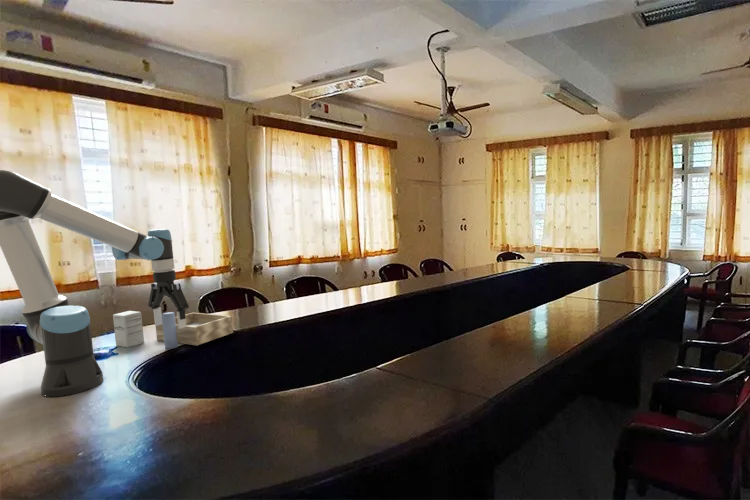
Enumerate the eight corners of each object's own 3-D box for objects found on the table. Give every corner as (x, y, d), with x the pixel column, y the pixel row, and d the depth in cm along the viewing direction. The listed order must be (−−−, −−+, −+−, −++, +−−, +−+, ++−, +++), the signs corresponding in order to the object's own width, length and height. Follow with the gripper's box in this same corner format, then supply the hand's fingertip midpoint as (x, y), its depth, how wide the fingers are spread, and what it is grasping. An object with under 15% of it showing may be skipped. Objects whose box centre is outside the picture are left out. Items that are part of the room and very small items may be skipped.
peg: (170, 349, 161) (166, 315, 160) (162, 348, 163) (159, 314, 162) (180, 346, 164) (177, 312, 163) (172, 345, 167) (169, 311, 165)
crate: (196, 345, 164) (195, 327, 164) (156, 339, 176) (155, 322, 175) (233, 332, 180) (231, 316, 179) (194, 328, 191) (192, 312, 191)
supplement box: (115, 346, 170) (111, 314, 169) (133, 340, 176) (130, 310, 175) (127, 348, 166) (123, 315, 165) (145, 342, 173) (141, 311, 172)
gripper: (194, 269, 158) (201, 326, 160) (152, 268, 170) (158, 321, 173) (176, 272, 152) (183, 331, 154) (133, 271, 164) (140, 326, 166)
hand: (170, 326), depth 163 cm, fingers open, 13 cm apart
